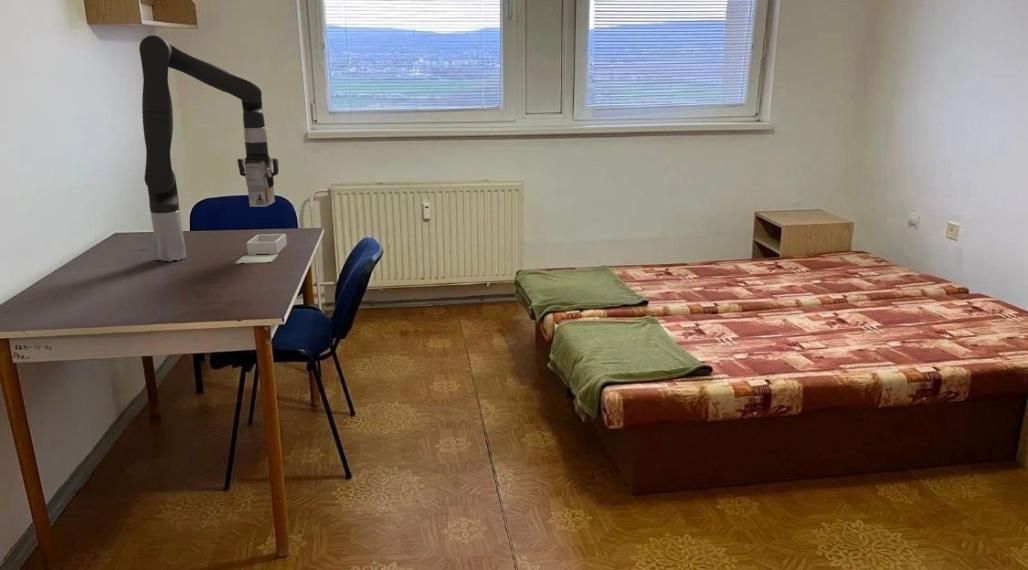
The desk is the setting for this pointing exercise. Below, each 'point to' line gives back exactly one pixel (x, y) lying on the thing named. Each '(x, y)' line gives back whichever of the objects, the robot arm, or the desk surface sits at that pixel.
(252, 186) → the coffee box
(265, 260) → the mat
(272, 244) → the bin
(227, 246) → the desk surface
